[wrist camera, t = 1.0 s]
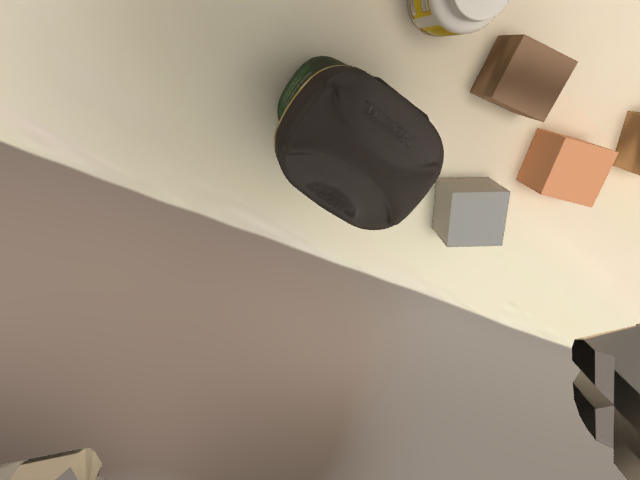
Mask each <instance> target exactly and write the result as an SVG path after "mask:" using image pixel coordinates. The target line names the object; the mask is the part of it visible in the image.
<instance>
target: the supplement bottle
mask: <svg viewBox="0 0 640 480" xmlns="http://www.w3.org/2000/svg"><path fill="white" fill-rule="evenodd" d="M508 2H509V0H409V1H408V7H409V13H410V16H411V18H412V21H413V22H414V24H415V25H416V26H417V27H418V28H419V29H420V30H421V31H422V32H424V33H426V34H428V35H431V36H449V35H460V34H468V33H472V32H475V31H478V30H480V29H482V28H484V27H485V26H486V25H488V24H489V23H490V22H491V21H492V20H493V19H494V18H495V17H496V15H498V14H499V13H500V12H501V11H502V10H503V9H504V8H505V7H506V5H507V4H508Z"/></svg>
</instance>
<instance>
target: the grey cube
mask: <svg viewBox="0 0 640 480" xmlns="http://www.w3.org/2000/svg"><path fill="white" fill-rule="evenodd" d="M509 196H510V191H508V190H507V189H505V188H504V187H502V186H501V185H499V184H498V183H496V182H495V181H493V180H492V179H490V178H489V177H467V178H437V180H436V187H435V198H434V209H433V220H432V229H433V230H434V231H435V232H436V234H437V235H438V236H439V238H440V239H441V240H442V241H443V243H444V244H445V245H446V246H447V247H470V246H502V243H503V236H504V230H505V223H506V216H507V210H508V203H509Z"/></svg>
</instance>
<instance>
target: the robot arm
mask: <svg viewBox="0 0 640 480" xmlns="http://www.w3.org/2000/svg"><path fill="white" fill-rule="evenodd" d="M572 361H573V362H574V363H575V364H576V365H577V366H578V367H579V369H580V370H581V371H580V373H579V374H578V376H577V377H576V379H575V380H574V382H573V391H574V400H575V403H576V406H577V409H578V412H579V415H580V417H581V419H582V421H583V423H584V424H585V426H586V428H587V429H588V431H589V432H590V433H591V435H592V436H593V437H594V439H595V440H596V441H598V442H600V443H602V444H605V445H607V446H609V447H611V448H613V449H614V464H615V465H616V466H617V468H618V469H619V470H620V471H621V473H622V474H623V475H624V476H625V478H626V479H627V480H640V324H636V326H631V327H627V328H622V329H618V330H614V331H609V332H605V333H600V334H596V335H592V336H587V337H583V338H578V339H575V340H574V343H573V346H572ZM101 466H102V464H101V462H100V460H99V458H98V456H97V455H96V453H95V452H94V450H92V449H88V448H82V449H77V450H72V451H66V452H61V453H57V454H51V455H46V456H41V457H36V458H31V459H28V460H23V461H18V462H13V463H8V464H4V465H0V480H104V479H103V478H101V477H99V476H98V475H99V472H100V469H101Z"/></svg>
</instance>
